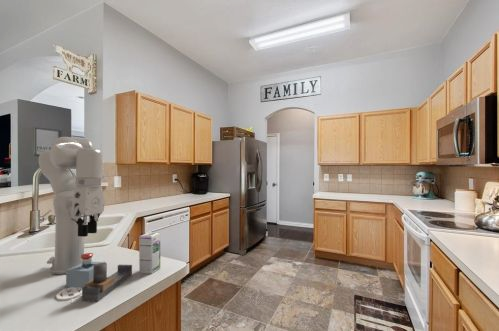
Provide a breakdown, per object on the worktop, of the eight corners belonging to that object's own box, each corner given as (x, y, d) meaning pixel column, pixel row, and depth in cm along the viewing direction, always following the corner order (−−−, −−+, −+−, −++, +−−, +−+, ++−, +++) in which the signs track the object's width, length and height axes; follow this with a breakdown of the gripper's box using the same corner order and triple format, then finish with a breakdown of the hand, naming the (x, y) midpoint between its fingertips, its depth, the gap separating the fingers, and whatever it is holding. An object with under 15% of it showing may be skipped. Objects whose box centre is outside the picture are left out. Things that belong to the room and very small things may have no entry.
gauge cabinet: (65, 288, 78) (66, 270, 78) (84, 277, 86) (84, 261, 86) (88, 289, 77) (88, 271, 77) (105, 278, 85) (105, 262, 85)
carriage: (84, 290, 72) (85, 267, 72) (96, 283, 77) (97, 261, 77) (103, 291, 71) (103, 268, 72) (113, 283, 76) (114, 262, 77)
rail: (81, 301, 70) (82, 287, 70) (119, 275, 88) (119, 264, 88) (97, 301, 70) (97, 288, 70) (131, 275, 88) (132, 264, 88)
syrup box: (152, 274, 89) (152, 236, 89) (138, 272, 90) (139, 235, 91) (160, 268, 95) (161, 232, 95) (147, 267, 96) (148, 231, 96)
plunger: (78, 267, 80) (78, 256, 80) (85, 263, 84) (86, 252, 84) (87, 267, 80) (87, 256, 80) (94, 263, 83) (95, 253, 83)
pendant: (81, 286, 80) (81, 284, 80) (88, 298, 72) (88, 296, 72) (54, 294, 75) (54, 291, 75) (58, 308, 67) (58, 305, 67)
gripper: (80, 184, 74) (78, 241, 74) (113, 182, 91) (112, 229, 90) (58, 184, 75) (56, 241, 74) (95, 182, 91) (94, 228, 91)
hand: (87, 234), depth 82 cm, fingers open, 3 cm apart
